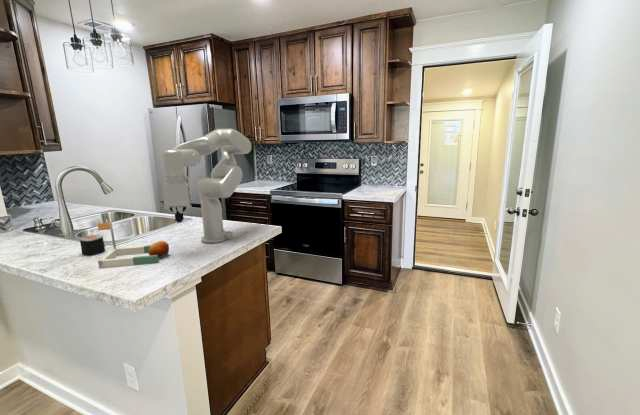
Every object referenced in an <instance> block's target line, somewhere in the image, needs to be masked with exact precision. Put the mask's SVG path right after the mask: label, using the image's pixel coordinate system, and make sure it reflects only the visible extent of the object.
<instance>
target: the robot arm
mask: <svg viewBox="0 0 640 415" xmlns="http://www.w3.org/2000/svg"><path fill="white" fill-rule="evenodd" d="M219 149H220V152H221V158H220V160H219V161H218V163H216V165H215V166H214V168H213V169H212V170H211V172H210V177H204V178H201V179H200V180H199V181H198V182H197V184H196V189H197V193H198V196H199V202H200V208H201V216H202V226H203V227H202V229H203V237H201V238H200V242H202V243H203V244H218V243H221V242H224V241H226V240H228V236H229V237H230V236H233V235H234V232H233V231H231V230H228V231H227V230H225V228H224V220H223V211H222V210H223V209H222V203H221V201H220V199H228V198H230V197H231V196H232V195H233V193H234V192H235V191H236V189H237V187H239V185H240V183H242V179H243V171H242V168H241V167H240V166H238V165H237V161H236V160H237V159H236V158H235V157H234V155H247V154H249V153H250V152H251V151H252V143H251V141H250V139H249V138H248V137H246V136H245V135H243V133H241V132H240V131H238V130H236V129H235V128H216V129H214V130H212V131H210V132H208V133H207V134H205V135H203V136H202V137H199V138H196V139H193V140H190V141H187V142H184V143H181V144H179V145H176V146H175V147H173V148H172V149H170V150H169V149H167V150H164V151H163V152H162V160H163V169H164V170H163V172H164V179H165V183H163V203H164V207H163V208H164V209H165V210H168V211H171V212H172V213H173V214H174V219H175V221H176V223H177V224H178V223H182V222H183V221H184V212H185V211H186V210H189V209H192V207H193V206H192V199H191V198H192V197H191V191H190V187H189V184H188V182H187V181H189V179H190V178H189V176H187V175H186V174H185V167H186V168H187V167H188V168H189V167H190V168H191V167H192V168H193V167H196V166H198V165H200V164H201V160H202V156H208V155H211V154H213V153H214V152H216V151H217V150H219ZM178 207H179V209H178Z"/></svg>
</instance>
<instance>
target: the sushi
mask: <svg viewBox="0 0 640 415" xmlns="http://www.w3.org/2000/svg"><path fill="white" fill-rule="evenodd" d="M79 243H80V248H81V255H83V256H86V257H91V256H96V255H99V254H100V255H101V254H103V253H104V252H105V251H106V247H105V246H106V245H105V240H104V236H103V235H102V234H88V235H86V236H83V237H80V240H79Z"/></svg>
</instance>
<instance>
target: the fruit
mask: <svg viewBox="0 0 640 415" xmlns="http://www.w3.org/2000/svg"><path fill="white" fill-rule="evenodd" d="M169 251H170V246H169V244H168V242H166V241H165V240H159V241H156V242H154V243H152V244H151V246H150V248H149V251H148V252H149V253H148V256H150V255H158V259H163V258H164V257H165V256H170V254H169Z"/></svg>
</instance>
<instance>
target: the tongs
mask: <svg viewBox="0 0 640 415" xmlns="http://www.w3.org/2000/svg"><path fill="white" fill-rule="evenodd" d="M97 229H98V231H105V230H106V231H107V230H109V231H110V233H111V240H112V245H113V248H112V249H111V250H110V251H109V252H107V253H106V254H105V255H104V256H102V257H101V258H100V259H99V260H98V261H97V263H98V268H99V269H106V268H115V267H116V268H117V267H128V266H129V267H130V266H139V265H147V264H149V265H151V264H158V263H159V258H158V255H141V254H149V252H148V251H149V248H150V246H151V245H152V244H151V245H139V246H128V247H117V246H116V240H115V234H114V229H113V223H112V222H102V223H101V222H100V223H97ZM127 255H140V256H129V257H118V256H127ZM116 257H117V258H116Z"/></svg>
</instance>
